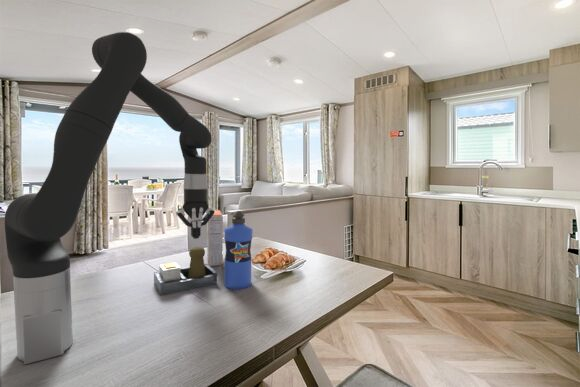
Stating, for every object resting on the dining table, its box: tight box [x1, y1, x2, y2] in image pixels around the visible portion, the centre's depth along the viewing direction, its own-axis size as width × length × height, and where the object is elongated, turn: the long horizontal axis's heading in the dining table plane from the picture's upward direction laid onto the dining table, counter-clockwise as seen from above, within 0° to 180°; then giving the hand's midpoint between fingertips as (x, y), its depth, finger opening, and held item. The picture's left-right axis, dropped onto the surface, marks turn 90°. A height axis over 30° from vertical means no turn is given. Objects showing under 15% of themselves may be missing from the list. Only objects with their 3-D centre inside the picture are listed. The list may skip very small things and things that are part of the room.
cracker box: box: [206, 209, 224, 267], centre depth 125 cm, size 14×6×21 cm, turn 17°
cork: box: [188, 246, 206, 279], centre depth 103 cm, size 6×6×11 cm
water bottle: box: [223, 210, 253, 290], centre depth 101 cm, size 9×9×25 cm
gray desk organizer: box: [153, 262, 218, 296], centre depth 101 cm, size 10×18×7 cm, turn 125°
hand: (195, 238), depth 102 cm, fingers closed
